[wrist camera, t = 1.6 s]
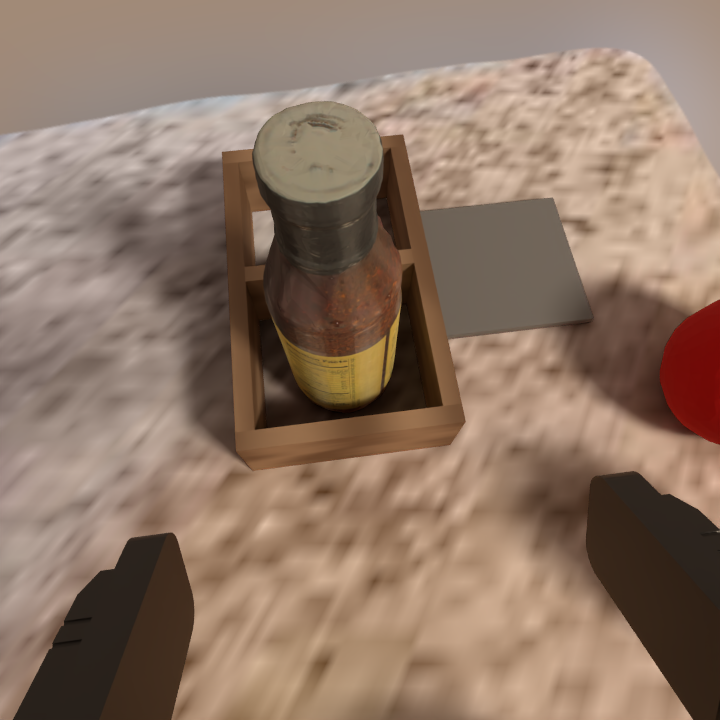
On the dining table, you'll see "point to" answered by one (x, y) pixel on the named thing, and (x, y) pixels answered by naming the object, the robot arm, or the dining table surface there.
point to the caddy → (250, 306)
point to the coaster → (503, 268)
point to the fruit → (695, 372)
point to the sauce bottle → (329, 252)
